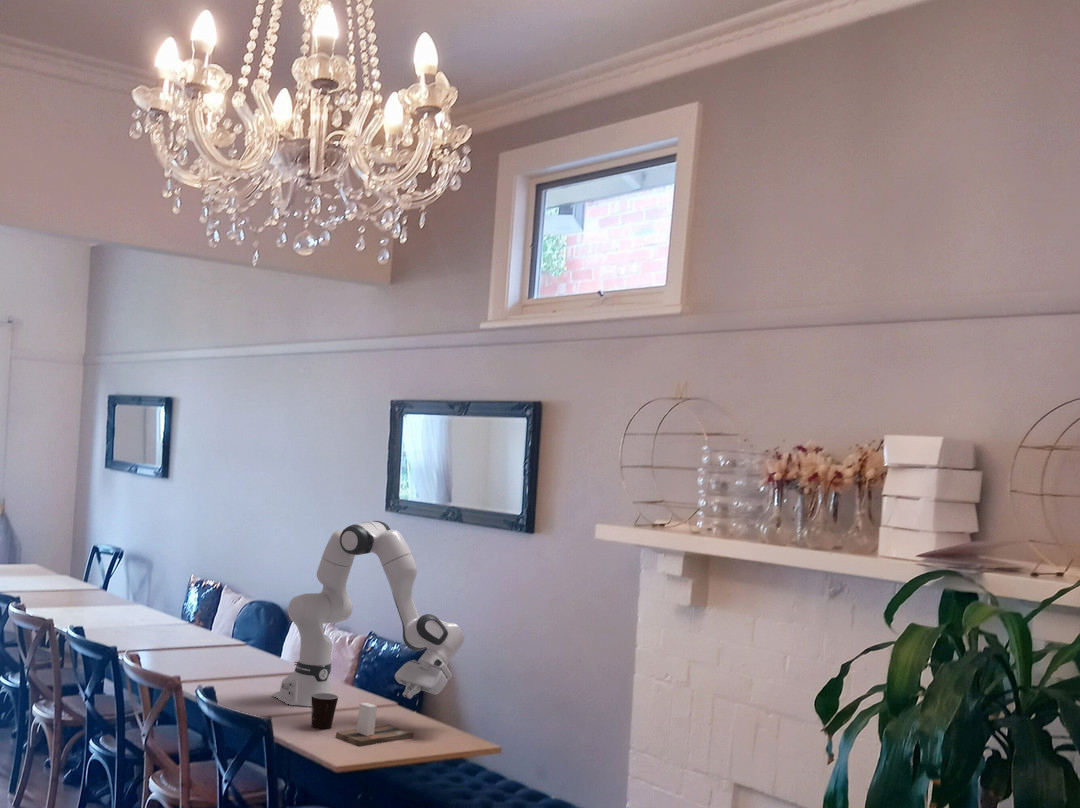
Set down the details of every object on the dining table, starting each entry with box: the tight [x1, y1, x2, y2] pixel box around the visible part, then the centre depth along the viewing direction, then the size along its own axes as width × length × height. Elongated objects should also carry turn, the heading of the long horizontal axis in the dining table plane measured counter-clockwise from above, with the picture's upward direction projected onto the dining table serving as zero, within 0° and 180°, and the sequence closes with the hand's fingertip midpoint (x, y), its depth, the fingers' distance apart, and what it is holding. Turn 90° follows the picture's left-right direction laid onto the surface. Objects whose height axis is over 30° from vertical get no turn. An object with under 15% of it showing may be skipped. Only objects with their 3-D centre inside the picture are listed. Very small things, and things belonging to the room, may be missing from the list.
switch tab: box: [356, 702, 378, 736], centre depth 322 cm, size 5×3×9 cm, turn 49°
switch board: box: [335, 723, 414, 747], centre depth 325 cm, size 12×22×2 cm, turn 139°
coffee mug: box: [311, 693, 339, 731], centre depth 330 cm, size 12×9×10 cm
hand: (406, 696), depth 334 cm, fingers closed
